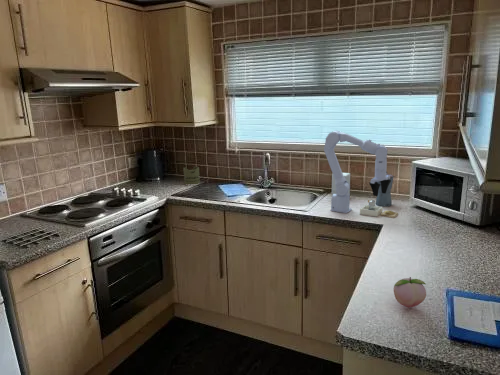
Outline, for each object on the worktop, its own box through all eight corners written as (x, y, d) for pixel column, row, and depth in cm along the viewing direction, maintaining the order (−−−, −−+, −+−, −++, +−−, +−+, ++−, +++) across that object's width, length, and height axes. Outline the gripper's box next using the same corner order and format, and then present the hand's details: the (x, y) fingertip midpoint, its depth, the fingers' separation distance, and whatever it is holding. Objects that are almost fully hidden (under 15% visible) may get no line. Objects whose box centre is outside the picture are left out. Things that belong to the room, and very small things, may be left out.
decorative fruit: (413, 298, 122) (416, 269, 120) (429, 312, 115) (432, 281, 112) (386, 301, 121) (388, 272, 119) (400, 315, 113) (402, 284, 111)
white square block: (350, 196, 241) (350, 173, 237) (345, 199, 234) (346, 175, 230) (336, 194, 246) (336, 171, 242) (331, 198, 238) (331, 174, 235)
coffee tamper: (373, 214, 204) (373, 202, 202) (365, 212, 207) (366, 201, 205) (377, 212, 207) (377, 200, 205) (369, 210, 210) (370, 199, 208)
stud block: (380, 215, 202) (380, 212, 202) (384, 212, 208) (384, 209, 208) (394, 218, 198) (394, 214, 198) (398, 214, 204) (398, 211, 203)
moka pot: (373, 207, 217) (375, 172, 212) (375, 200, 231) (377, 167, 226) (391, 208, 214) (393, 173, 209) (392, 201, 228) (394, 168, 223)
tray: (359, 214, 206) (360, 208, 205) (365, 209, 213) (366, 204, 212) (376, 217, 201) (376, 211, 200) (382, 212, 208) (382, 207, 207)
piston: (182, 167, 288) (197, 166, 292) (183, 183, 291) (198, 181, 295) (184, 170, 278) (200, 168, 281) (185, 186, 281) (201, 184, 284)
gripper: (379, 172, 193) (378, 198, 196) (395, 168, 202) (394, 193, 205) (367, 170, 199) (366, 195, 202) (383, 166, 207) (382, 190, 210)
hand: (379, 194), depth 204 cm, fingers open, 7 cm apart
